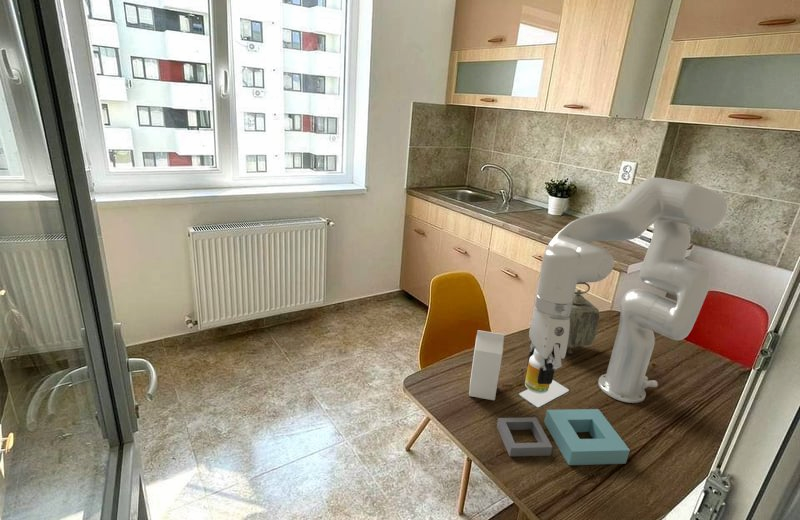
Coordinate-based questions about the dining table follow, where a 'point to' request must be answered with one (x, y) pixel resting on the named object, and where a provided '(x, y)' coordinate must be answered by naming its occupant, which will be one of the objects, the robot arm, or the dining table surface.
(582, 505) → the dining table surface
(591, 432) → the socket block
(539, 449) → the grey picture frame
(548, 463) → the dining table surface
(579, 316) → the tabletop clock
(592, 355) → the dining table surface
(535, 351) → the supplement bottle
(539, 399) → the smartphone
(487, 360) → the milk carton
